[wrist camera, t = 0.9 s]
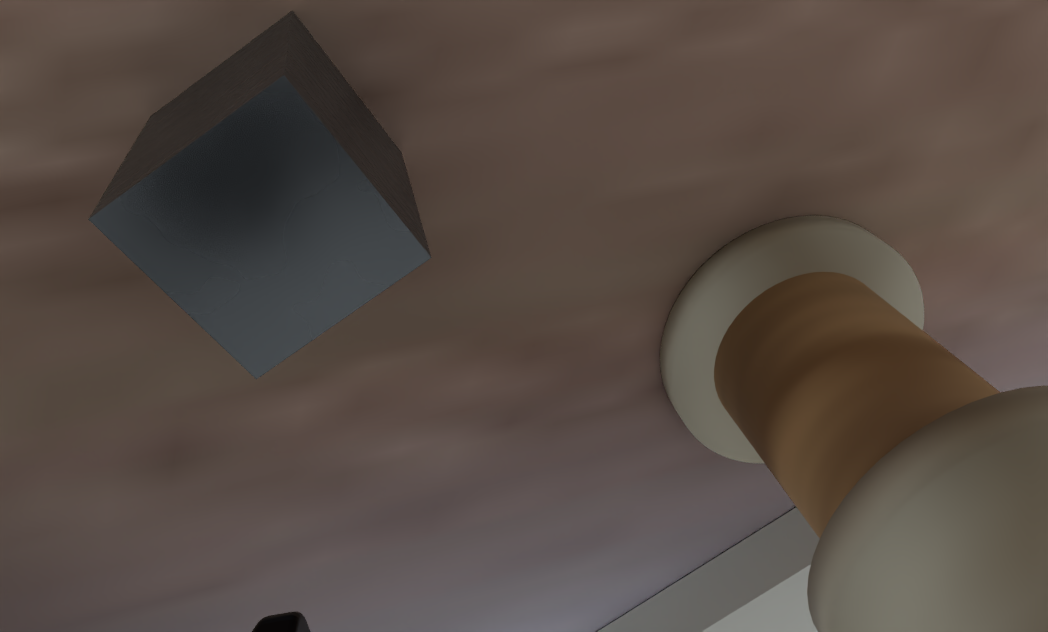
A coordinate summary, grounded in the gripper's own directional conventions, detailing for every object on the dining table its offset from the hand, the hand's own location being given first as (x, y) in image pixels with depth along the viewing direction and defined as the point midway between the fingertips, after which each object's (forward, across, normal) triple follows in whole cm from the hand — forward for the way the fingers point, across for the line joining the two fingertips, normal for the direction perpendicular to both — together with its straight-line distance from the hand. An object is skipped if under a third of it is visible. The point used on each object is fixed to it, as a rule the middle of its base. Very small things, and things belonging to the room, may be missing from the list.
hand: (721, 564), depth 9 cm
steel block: (+12, +6, -1) cm, 13 cm away
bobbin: (+12, -6, +7) cm, 15 cm away
